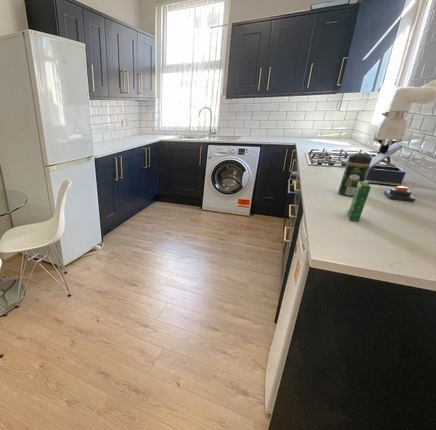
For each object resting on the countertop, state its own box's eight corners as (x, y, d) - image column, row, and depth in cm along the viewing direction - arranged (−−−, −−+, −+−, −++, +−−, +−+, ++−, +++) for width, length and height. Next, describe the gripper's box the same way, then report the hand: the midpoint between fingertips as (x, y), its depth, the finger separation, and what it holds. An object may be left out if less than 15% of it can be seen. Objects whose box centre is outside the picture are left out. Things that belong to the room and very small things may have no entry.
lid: (397, 143, 141) (395, 142, 141) (403, 146, 132) (402, 145, 132) (366, 164, 150) (365, 163, 150) (370, 168, 141) (369, 167, 141)
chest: (393, 182, 147) (399, 167, 144) (399, 187, 138) (406, 172, 135) (360, 178, 153) (365, 164, 150) (364, 183, 144) (369, 168, 141)
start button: (394, 189, 124) (395, 185, 124) (405, 190, 123) (406, 186, 122) (396, 191, 122) (397, 187, 121) (407, 192, 120) (409, 188, 119)
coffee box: (347, 213, 107) (358, 180, 102) (356, 215, 105) (368, 181, 100) (348, 220, 101) (360, 185, 96) (358, 222, 99) (371, 186, 94)
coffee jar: (339, 190, 134) (351, 151, 127) (360, 193, 129) (374, 153, 122) (336, 194, 128) (349, 153, 121) (358, 198, 123) (373, 156, 116)
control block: (383, 193, 129) (386, 186, 128) (407, 196, 125) (410, 188, 124) (388, 199, 121) (391, 191, 120) (413, 202, 118) (417, 194, 116)
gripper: (377, 115, 135) (364, 153, 142) (420, 115, 128) (404, 156, 135) (374, 114, 141) (362, 151, 148) (414, 115, 133) (400, 153, 140)
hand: (382, 153), depth 141 cm, fingers closed
